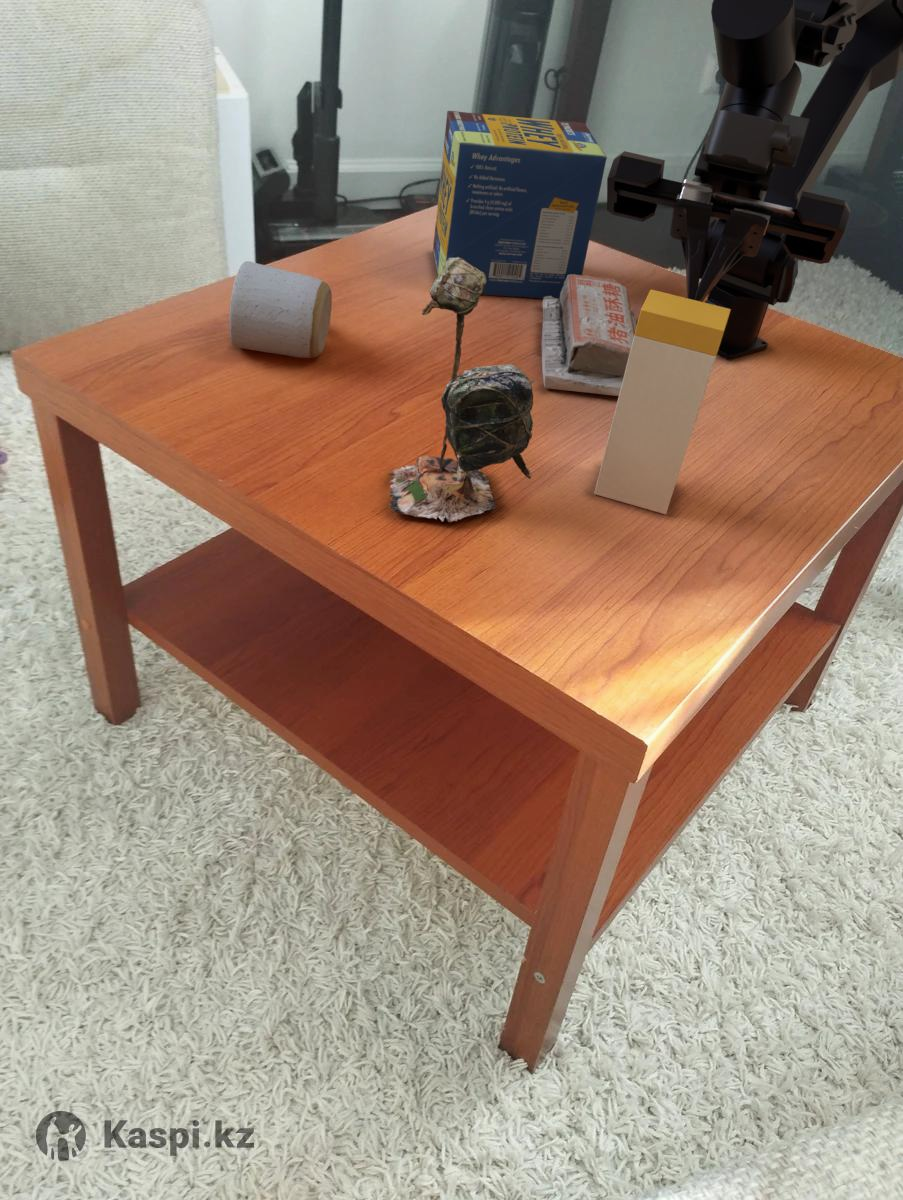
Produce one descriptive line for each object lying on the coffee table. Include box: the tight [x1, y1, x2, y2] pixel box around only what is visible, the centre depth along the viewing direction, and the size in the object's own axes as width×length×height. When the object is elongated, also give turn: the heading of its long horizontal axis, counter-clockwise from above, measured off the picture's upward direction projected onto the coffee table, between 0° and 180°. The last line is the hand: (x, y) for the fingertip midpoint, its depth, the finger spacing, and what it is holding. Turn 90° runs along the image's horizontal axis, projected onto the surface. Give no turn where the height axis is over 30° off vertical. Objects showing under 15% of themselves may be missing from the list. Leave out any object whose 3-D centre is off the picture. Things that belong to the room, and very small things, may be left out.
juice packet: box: [593, 289, 731, 515], centre depth 77 cm, size 4×6×16 cm, turn 71°
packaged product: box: [541, 274, 637, 397], centre depth 98 cm, size 18×5×10 cm
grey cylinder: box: [228, 260, 333, 359], centre depth 92 cm, size 11×8×8 cm
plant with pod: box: [387, 257, 535, 523], centre depth 72 cm, size 8×11×20 cm
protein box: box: [432, 110, 608, 300], centre depth 106 cm, size 10×15×16 cm
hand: (692, 306), depth 79 cm, fingers closed
